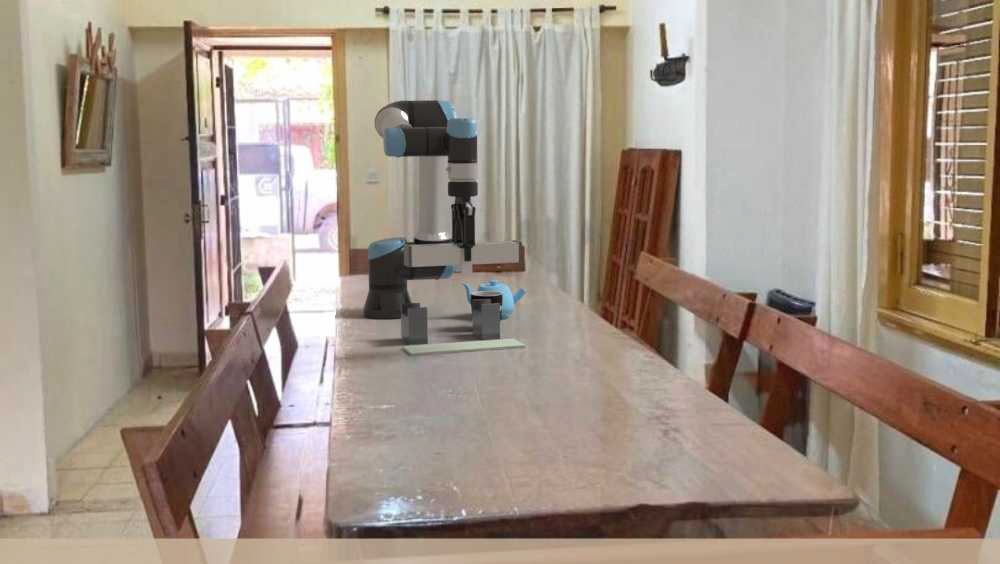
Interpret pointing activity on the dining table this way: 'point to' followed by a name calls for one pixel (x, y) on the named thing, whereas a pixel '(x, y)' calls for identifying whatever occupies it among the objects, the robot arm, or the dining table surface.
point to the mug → (488, 297)
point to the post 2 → (486, 319)
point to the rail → (452, 253)
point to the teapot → (504, 289)
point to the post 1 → (414, 324)
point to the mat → (463, 347)
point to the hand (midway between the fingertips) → (463, 272)
